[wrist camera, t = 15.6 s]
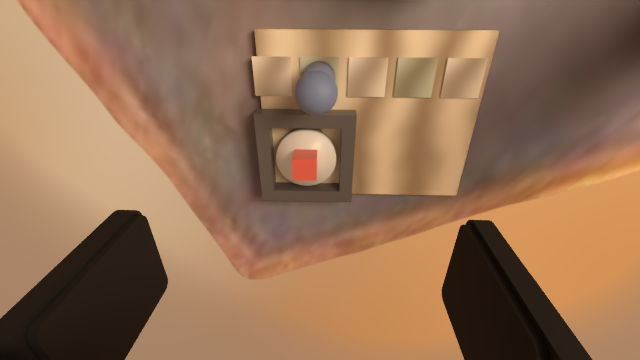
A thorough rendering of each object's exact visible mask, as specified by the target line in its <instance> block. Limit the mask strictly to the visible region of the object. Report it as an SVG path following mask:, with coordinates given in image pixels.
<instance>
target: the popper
mask: <svg viewBox="0 0 640 360" xmlns="http://www.w3.org/2000/svg"><path fill="white" fill-rule="evenodd" d="M276 162H277V166H278V168H279V170H280V172H281V173H282V174H283V176H284V177H285V178H287V179H288V180H289V181H291V182H293V183H295V184H299V185H304V186H311V185H316V184H319V183H321V182H323V181H325V180H326V179H327V178H328V177H329V176H330V175H331V174H332V172H333V171H334V168H335V165H336V149H335V146H334V143H333V141H332V140H331V139H330V137H329V136H328V135H327V134H325V133H324V132H322V131H321V130H319V129H316V128H296V129H294V130H291V131H290V132H288V133H287V134H286V135H285V136H284V137H283V138H282V140H281V142H280V144H279V146H278V149H277V153H276Z"/></svg>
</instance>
